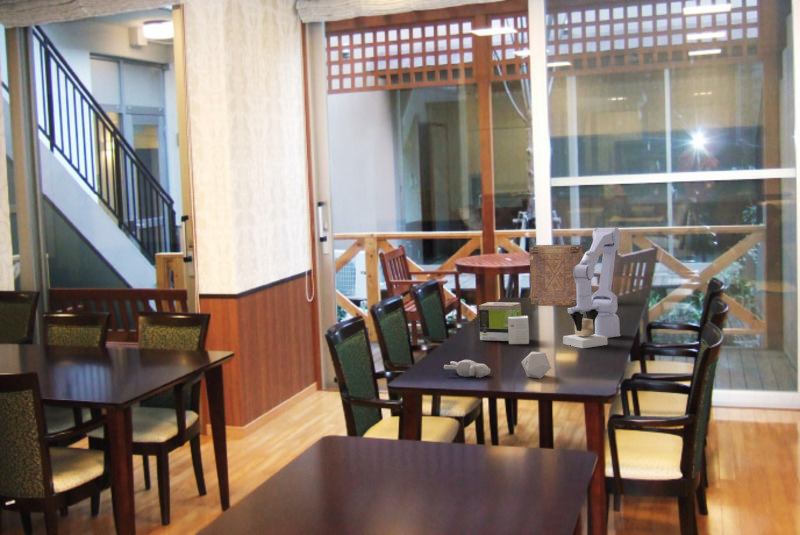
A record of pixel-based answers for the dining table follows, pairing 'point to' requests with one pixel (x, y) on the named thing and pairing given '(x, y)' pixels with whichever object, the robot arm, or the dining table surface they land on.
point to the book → (554, 274)
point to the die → (536, 364)
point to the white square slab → (585, 340)
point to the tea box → (496, 319)
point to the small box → (518, 330)
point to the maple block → (585, 328)
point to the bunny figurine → (469, 368)
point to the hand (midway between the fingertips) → (584, 329)
